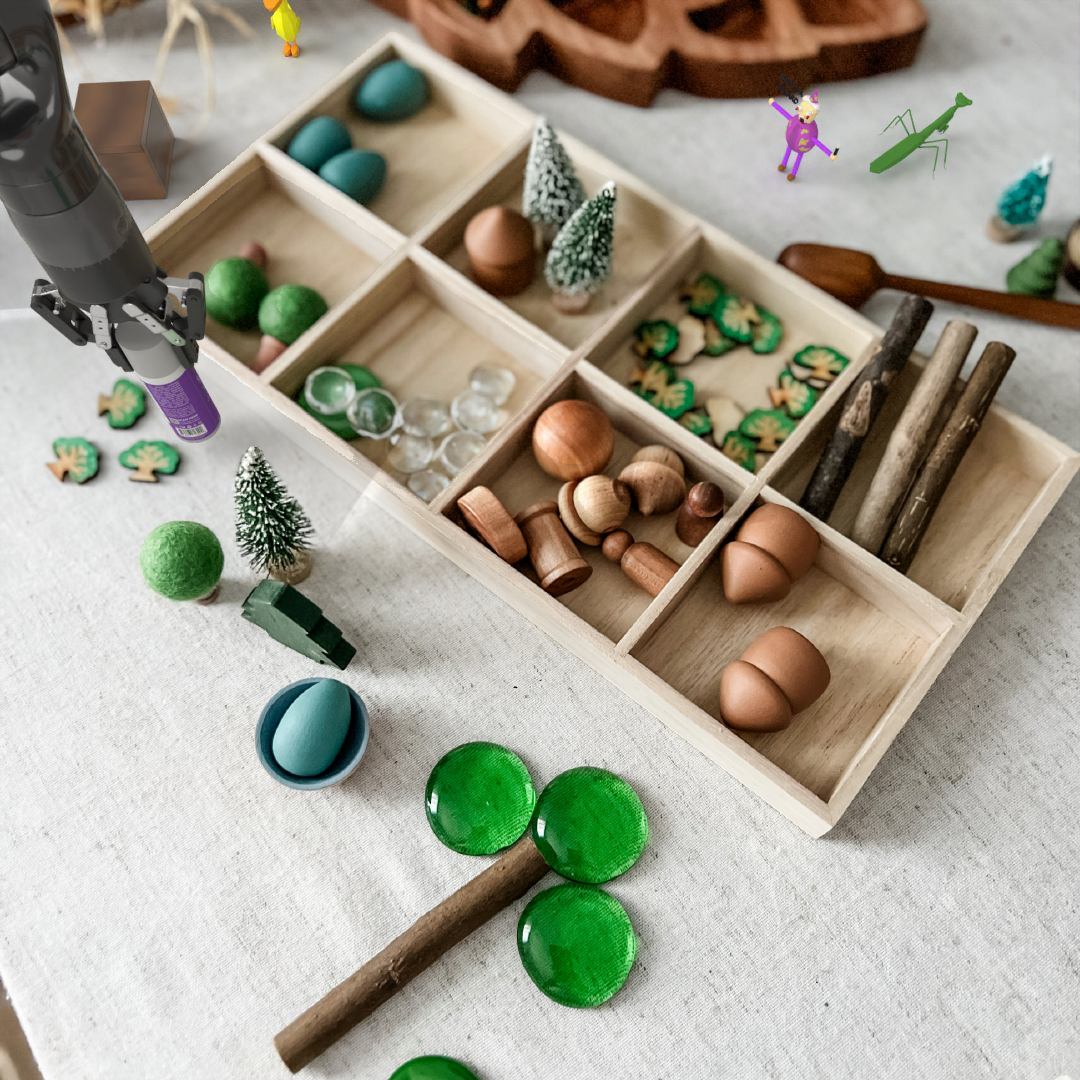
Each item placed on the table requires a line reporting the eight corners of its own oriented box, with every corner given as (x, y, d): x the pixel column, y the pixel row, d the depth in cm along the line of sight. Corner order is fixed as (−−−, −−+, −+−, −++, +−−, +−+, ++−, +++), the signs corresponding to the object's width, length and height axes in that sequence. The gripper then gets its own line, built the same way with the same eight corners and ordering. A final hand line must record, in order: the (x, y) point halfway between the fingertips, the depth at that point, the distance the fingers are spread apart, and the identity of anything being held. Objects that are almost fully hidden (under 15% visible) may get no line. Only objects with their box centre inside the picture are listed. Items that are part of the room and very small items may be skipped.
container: (230, 415, 94) (180, 320, 80) (202, 450, 92) (146, 360, 78) (192, 396, 95) (136, 299, 81) (164, 431, 93) (101, 338, 79)
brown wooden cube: (97, 202, 109) (66, 147, 102) (108, 139, 113) (78, 83, 106) (166, 198, 109) (140, 143, 102) (174, 136, 114) (150, 79, 106)
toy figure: (300, 71, 118) (276, -21, 108) (272, 69, 119) (245, -22, 108) (309, 35, 121) (287, -58, 110) (282, 33, 121) (257, -59, 110)
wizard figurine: (748, 150, 113) (771, 62, 102) (768, 139, 114) (793, 51, 103) (811, 208, 109) (841, 123, 98) (831, 196, 110) (864, 111, 99)
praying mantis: (981, 150, 113) (998, 118, 109) (894, 206, 109) (908, 176, 105) (924, 105, 116) (938, 73, 112) (837, 159, 112) (848, 128, 108)
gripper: (181, 182, 70) (243, 324, 86) (-13, 190, 70) (85, 332, 85) (171, 260, 67) (238, 393, 83) (-32, 269, 67) (74, 401, 82)
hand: (160, 361), depth 84 cm, fingers closed on container, 4 cm apart
